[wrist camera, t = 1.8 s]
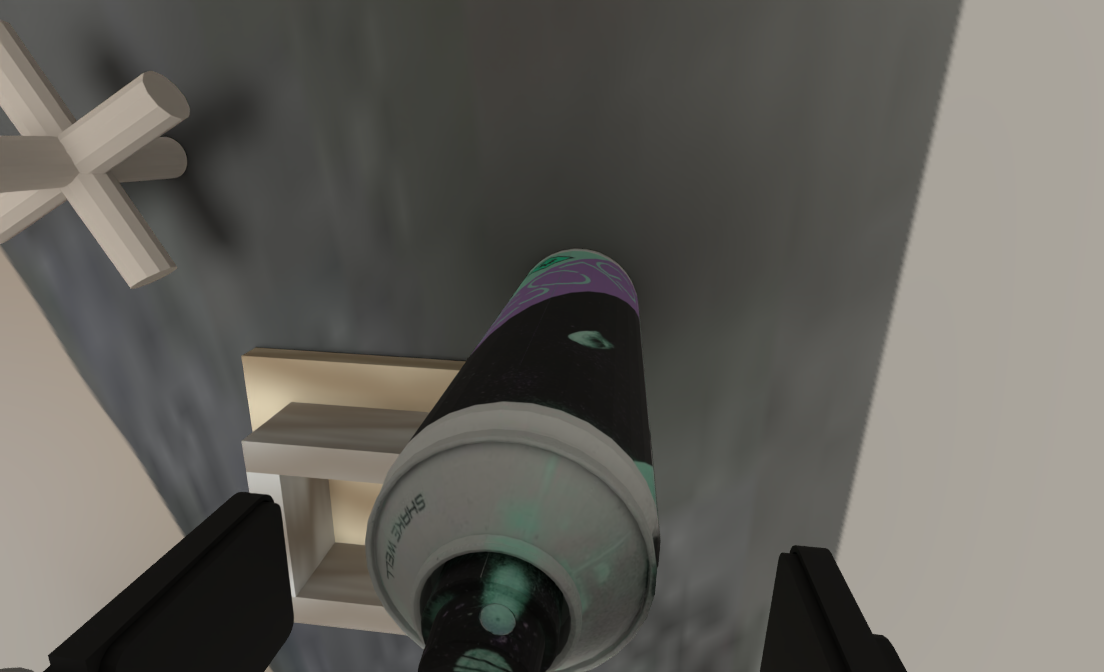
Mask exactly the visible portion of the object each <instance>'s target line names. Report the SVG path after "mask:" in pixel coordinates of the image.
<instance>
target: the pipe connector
mask: <svg viewBox="0 0 1104 672" xmlns="http://www.w3.org/2000/svg"><path fill="white" fill-rule="evenodd" d="M0 106H1V107H2V109H3V110H4V111H5V113H6V114H7V116H8V117H9V118H10V120H11V121H12V123H13V124H14V125H15V127H16V128H17V130H18V131H19V132H20V134H21V135H22V136H0V244H2V243H4V242H6V241H8V240H10V239H11V238H13V237H14V236H16V235H17V234H19V233H20V232H22V231H23V230H25V229H26V228H27V227H29V226H30V225H32V224H33V223H35V222H36V221H38V220H39V219H41V218H42V217H43V216H45V215H46V214H48V213H49V212H51V211H52V210H54V209H55V208H57V207H58V206H60V205H61V204H62V203H64V202H65V201H67V200H68V201H69V202H70V204H71V205H72V207H73V208H74V209H75V211H76V212H77V214H78V215H79V216H80V218H81V219H82V221H83V222H84V223H85V225H86V226H87V228H88V229H89V230H90V232H91V233H92V235H93V236H94V237H95V239H96V240H97V242H98V243H99V244H100V246H101V247H102V249H103V250H104V251H105V253H106V254H107V256H108V257H109V258H110V260H111V261H112V263H113V264H114V265H115V267H116V268H117V270H118V271H119V272H120V274H121V275H122V277H123V278H124V279H125V281H126V282H127V284H128V285H129V286H130V288H131V289H134V288H139V287H141V286H144V285H147V284H150V283H152V282H154V281H156V280H158V279H161V278H162V277H164V276H166V275H168V274H170V273H172V272H173V271H174V270H176V269H177V266H176V265H175V263H174V262H173V260H172V259H171V257H170V256H169V255H168V253H167V252H166V250H165V249H164V247H163V246H162V244H161V243H160V241H159V240H158V239H157V237H156V236H155V234H154V233H153V231H152V230H151V228H150V227H149V225H148V224H147V223H146V221H145V220H144V218H143V217H142V215H141V214H140V212H139V211H138V209H137V208H136V207H135V205H134V204H133V202H132V201H131V199H130V198H129V196H128V195H127V193H126V192H125V191H124V189H123V188H122V186H121V185H120V183H123V182H134V181H146V180H158V179H170V178H177V177H179V176H181V175H182V174H183V173H184V172H185V170H186V167H187V157H186V153H185V151H184V149H183V148H182V146H181V145H180V144H179V143H178V142H177V141H175V140H174V139H172V138H169V137H160V136H162V135H163V134H164V133H166V132H167V131H169V130H170V129H172V128H173V127H175V126H176V125H178V124H179V123H180V122H182V121H183V120H185V119H186V118H188V117H189V114H190V107H189V105H188V103H187V101H186V98H185V96H184V95H183V94H182V93H181V92H180V90H179V89H178V88H177V87H176V85H174V84H173V83H172V82H171V81H169V80H168V79H167V78H166V77H164V76H163V75H161V74H158V73H156V72H153V71H148V72H144V73H143V74H141V75H140V76H138V77H137V78H136V79H134V80H133V81H132V82H130V83H129V84H127V85H126V86H125V87H123V88H122V89H121V90H119V91H118V92H117V93H115V94H114V95H112V96H111V97H110V98H108V99H107V100H106V101H104V102H103V103H101V104H100V105H99V106H97V107H96V108H95V109H93V110H92V111H90V112H89V113H88V114H86V115H85V116H84V117H82V118H81V119H79V120H78V121H76V119H75V118H74V116H73V115H72V113H71V112H70V111H69V109H68V108H67V106H66V105H65V103H64V102H63V100H62V99H61V97H60V96H59V95H58V93H57V92H56V90H55V89H54V87H53V86H52V84H51V83H50V81H49V80H48V79H47V77H46V76H45V74H44V73H43V71H42V70H41V68H40V67H39V65H38V64H37V63H36V61H35V60H34V58H33V57H32V55H31V54H30V52H29V51H28V49H27V48H26V47H25V45H24V44H23V42H22V41H21V39H20V38H19V36H18V35H17V33H16V32H15V31H14V29H13V28H12V26H11V25H10V23H7V22H5V21H3V20H0Z"/></svg>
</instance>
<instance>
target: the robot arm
mask: <svg viewBox="0 0 1104 672" xmlns="http://www.w3.org/2000/svg"><path fill="white" fill-rule="evenodd" d="M293 623H294V611H293V603H292V595H291V586H290V578H289V570H288V562H287V553H286V545H285V537H284V528H283V520H282V512H281V507H280V505H279V504H277V503H274V500H273V498H272V497H271V496H270V495H268V494H258V493H248V492H238V493H236V494H235V495H233V496H232V497H231V498H230V499H229V500H228V501H226V502H225V503H224V504H223V505H222V506H221V507H219V508H218V509H217V510H216V511H215V512H214V513H212V514H211V515H210V516H209V517H208V518H207V519H205V520H204V521H203V522H202V523H201V524H200V525H199V526H197V527H196V528H195V529H194V530H193V531H192V532H190V533H189V534H188V535H187V536H186V537H185V538H183V539H182V540H181V541H180V542H179V543H178V544H177V545H175V546H174V547H173V548H172V549H171V550H170V551H168V552H167V553H166V554H165V555H164V556H163V557H162V558H160V559H159V560H158V561H157V562H156V563H155V564H153V565H152V566H151V567H150V568H149V569H148V570H146V571H145V572H144V573H143V574H142V575H141V576H140V577H138V578H137V579H136V580H135V581H134V582H133V583H131V584H130V585H129V586H128V587H127V588H126V589H124V590H123V591H122V592H121V593H120V594H119V595H117V596H116V597H115V598H114V599H113V600H112V601H111V602H109V603H108V604H107V605H106V606H105V607H104V608H102V609H101V610H100V611H99V612H98V613H97V614H95V615H94V616H93V617H92V618H91V619H90V620H89V621H87V622H86V623H85V624H84V625H83V626H82V627H80V628H79V629H78V630H77V631H76V632H75V633H73V634H72V635H71V636H70V637H69V638H68V639H67V640H65V641H64V642H63V643H62V644H61V645H60V646H59V647H57V648H56V649H55V650H54V651H53V652H51V653H50V654H49V655H48V657H49V661H50V666H49V667H48V668H47V669H46V670H45V671H43V672H264V671H265V670H266V668H267V667H268V665H269V664H270V663H271V661H272V660H273V658H274V657H275V656H276V654H277V653H278V651H279V650H280V648H281V647H282V646H283V644H284V643H285V641H286V640H287V638H288V637H289V635H290V633H291V630H292V627H293ZM0 672H34V671H32V670H29V669H24V668H4V669H0ZM760 672H907V671H906V669H905V667H904V665H903V664H902V662H901V660H900V658H899V656H898V654H897V652H896V651H895V649H894V647H893V646H892V644H891V643H890V641H889V640H888V639H887V638H886V637H884V636H883V635H876V634H872V632H871V630H870V628H869V626H868V624H867V622H866V620H865V618H864V616H863V614H862V612H861V611H860V608H859V607H858V605H857V603H856V601H855V599H854V597H853V595H852V593H851V591H850V589H849V587H848V585H847V583H846V581H845V579H844V577H843V576H842V573H841V571H840V570H839V568H838V566H837V564H836V562H835V560H834V558H833V556H832V554H831V552H830V551H829V550H828V549H826V548H817V547H807V546H797V545H794V546H792V548H791V550H790V553H781V554H780V556H779V560H778V566H777V572H776V578H775V584H774V590H773V596H772V602H771V608H770V614H769V620H768V626H767V632H766V638H765V644H764V650H763V656H762V662H761V668H760Z"/></svg>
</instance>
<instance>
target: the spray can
mask: <svg viewBox="0 0 1104 672" xmlns="http://www.w3.org/2000/svg"><path fill="white" fill-rule="evenodd" d="M365 551H366V561H367V568H368V572H369V575H370V578H371V581H372V584H373V587H374V590H375V592H376V594H377V596H378V597H379V599H380V601H381V603H382V605H383V606H384V608H385V610H386V612H387V613H388V614H389V615H390V617H391V618H392V619H393V620H394V621H395V623H396V624H397V625H398V626H399V628H400V629H401V630H402V631H403V632H404V633H405V634H406V635H407V636H409V637H410V638H411V639H412V640H413V641H414V642H415V643H417V644H418V645H419V646H420V647H421V648H422V649H424V651H423V654H422V658H421V661H420V664H419V668H418V672H585V671H588V670H590V669H593V668H596V667H597V666H599V665H600V664H602V663H604V662H605V661H607V660H608V659H610V658H611V657H613V656H615V655H616V654H617V653H618V652H620V651H621V650H622V649H623V648H624V647H625V646H626V645H627V644H628V643H629V642H630V641H631V640H632V639H633V638H634V637H635V635H636V633H637V632H638V630H639V629H640V627H641V626H642V624H643V623H644V621H645V619H646V618H647V616H648V613H649V610H650V607H651V604H652V601H653V598H654V595H655V586H656V575H657V567H658V562H659V551H660V531H659V520H658V509H657V499H656V488H655V477H654V466H653V456H652V445H651V434H650V423H649V413H648V402H647V391H646V380H645V370H644V359H643V348H642V337H641V327H640V316H639V306H638V299H637V294H636V291H635V288H634V286H633V283H632V281H631V279H630V278H629V276H628V275H627V273H626V272H625V271H624V270H623V268H622V267H621V266H620V265H619V264H618V263H616V262H615V261H614V260H612V259H611V258H609V257H608V256H606V255H603V254H601V253H599V252H596V251H592V250H588V249H568V250H562V251H559V252H557V253H554V254H551V255H550V256H548V257H546V258H545V259H543V260H542V261H540V262H539V263H538V264H537V265H536V266H535V267H534V268H533V269H532V270H531V271H530V272H529V274H528V275H527V276H526V278H525V279H524V281H523V282H522V283H521V285H520V286H519V288H518V289H517V291H516V292H515V293H514V295H513V296H512V298H511V299H510V300H509V302H508V303H507V305H506V306H505V307H504V309H503V310H502V312H501V313H500V314H499V316H498V317H497V319H496V320H495V321H494V323H493V324H492V326H491V327H490V328H489V330H488V331H487V333H486V334H485V335H484V337H483V338H482V340H481V341H480V343H479V344H478V345H477V347H476V348H475V350H474V351H473V352H472V354H471V355H470V357H469V358H468V359H467V361H466V362H465V364H464V365H463V366H462V368H461V369H460V371H459V372H458V373H457V375H456V376H455V378H454V379H453V380H452V382H451V383H450V385H449V386H448V387H447V389H446V390H445V392H444V393H443V395H442V396H441V397H440V399H439V400H438V402H437V403H436V404H435V406H434V407H433V409H432V410H431V411H430V413H429V414H428V416H427V417H426V418H425V420H424V421H423V423H422V424H421V425H420V427H419V428H418V430H417V431H416V432H415V434H414V435H413V437H412V438H411V439H410V441H409V442H408V444H407V445H406V447H405V448H404V449H403V451H402V452H401V454H400V455H399V456H398V458H397V459H396V461H395V462H394V464H393V465H392V467H391V468H390V469H389V471H388V473H387V475H386V478H385V481H384V483H383V486H382V488H381V491H380V493H379V495H378V497H377V498H376V501H375V503H374V506H373V508H372V511H371V514H370V516H369V519H368V523H367V531H366V538H365Z"/></svg>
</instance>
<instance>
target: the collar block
mask: <svg viewBox="0 0 1104 672" xmlns="http://www.w3.org/2000/svg"><path fill="white" fill-rule="evenodd" d="M465 362H466V361H452V360H437V359H422V358H407V357H391V356H376V355H361V354H346V353H331V352H316V351H301V350H285V349H270V348H254V349H253V350H251V351H249V352H247V353H246V354H244V355H242V363H243V369H244V376H245V383H246V390H247V397H248V403H249V410H250V417H251V424H252V430H253V432H252V433H251V434H250V435H249V436H247V437H246V438H245V439H243V440H242V447H243V453H244V460H245V466H246V473H247V479H248V485H249V492H250V493H258V494H268V495H270V496H271V497H272V498H273V500H274V503H277V504H279V505H280V507H281V512H282V520H283V528H284V537H285V545H286V553H287V562H288V570H289V578H290V586H291V595H292V603H293V611H294V622H297V623H306V624H314V625H323V626H332V627H341V628H349V629H358V630H367V631H376V632H385V633H393V634H402V635H406V634H405V633H404V632H403V631H402V630H401V629H400V628H399V626H398V625H397V624H396V623H395V621H394V620H393V619H392V618H391V617H390V615H389V614H388V613H387V612H386V610H385V608H384V606H383V605H382V603H381V601H380V599H379V597H378V596H377V594H376V592H375V590H374V587H373V584H372V581H371V578H370V575H369V572H368V568H367V561H366V551H365V538H366V531H367V523H368V519H369V516H370V514H371V511H372V508H373V506H374V503H375V501H376V498H377V497H378V495H379V493H380V491H381V488H382V486H383V483H384V481H385V478H386V475H387V473H388V471H389V469H390V468H391V467H392V465H393V464H394V462H395V461H396V459H397V458H398V456H399V455H400V454H401V452H402V451H403V449H404V448H405V447H406V445H407V444H408V442H409V441H410V439H411V438H412V437H413V435H414V434H415V432H416V431H417V430H418V428H419V427H420V425H421V424H422V423H423V421H424V420H425V418H426V417H427V416H428V414H429V413H430V411H431V410H432V409H433V407H434V406H435V404H436V403H437V402H438V400H439V399H440V397H441V396H442V395H443V393H444V392H445V390H446V389H447V387H448V386H449V385H450V383H451V382H452V380H453V379H454V378H455V376H456V375H457V373H458V372H459V371H460V369H461V368H462V366H463V365H464V364H465Z"/></svg>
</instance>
